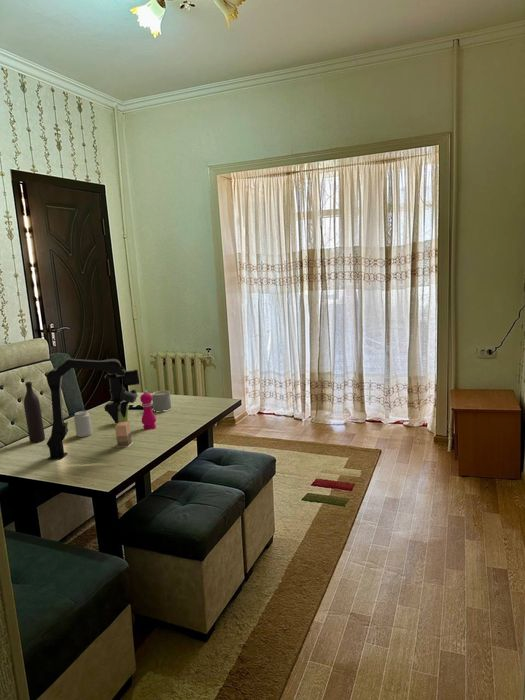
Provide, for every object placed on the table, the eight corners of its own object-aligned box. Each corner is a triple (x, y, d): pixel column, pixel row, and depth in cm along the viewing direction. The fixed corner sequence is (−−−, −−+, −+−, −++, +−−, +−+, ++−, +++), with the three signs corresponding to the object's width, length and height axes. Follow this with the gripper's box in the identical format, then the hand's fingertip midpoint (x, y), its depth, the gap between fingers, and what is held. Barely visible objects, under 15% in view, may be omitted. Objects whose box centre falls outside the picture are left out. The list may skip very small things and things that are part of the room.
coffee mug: (174, 407, 287) (172, 390, 285) (166, 412, 277) (164, 395, 276) (154, 406, 291) (152, 390, 289) (145, 411, 282) (143, 395, 280)
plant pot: (132, 423, 262) (130, 407, 261) (113, 426, 259) (111, 410, 257) (129, 418, 271) (128, 403, 269) (112, 421, 267) (110, 406, 266)
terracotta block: (127, 435, 224) (125, 425, 223) (116, 436, 224) (114, 425, 223) (130, 432, 228) (129, 421, 228) (120, 432, 229) (118, 422, 228)
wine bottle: (48, 438, 248) (39, 380, 242) (38, 443, 241) (29, 383, 236) (36, 437, 250) (27, 380, 244) (26, 442, 243) (17, 384, 238)
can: (87, 437, 244) (83, 414, 242) (73, 437, 245) (70, 414, 243) (95, 432, 251) (92, 410, 249) (81, 432, 253) (78, 410, 251)
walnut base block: (128, 446, 224) (127, 435, 224) (117, 446, 225) (116, 436, 224) (132, 442, 229) (130, 432, 228) (121, 442, 230) (120, 432, 229)
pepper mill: (142, 431, 247) (138, 393, 244) (142, 427, 254) (137, 389, 251) (157, 429, 249) (153, 391, 245) (156, 425, 256) (152, 387, 252)
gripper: (126, 391, 213) (131, 426, 215) (140, 381, 231) (144, 413, 234) (101, 392, 214) (106, 427, 216) (117, 382, 232) (121, 414, 235)
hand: (120, 420), depth 225 cm, fingers open, 9 cm apart
